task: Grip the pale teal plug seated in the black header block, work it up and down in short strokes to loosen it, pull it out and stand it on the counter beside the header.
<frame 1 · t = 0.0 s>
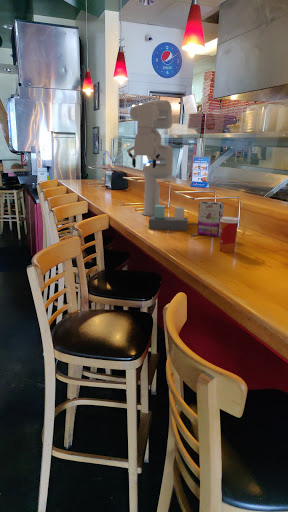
hand: (144, 167, 183), 31 cm above the bar counter, tool pointing down, fingers open, 9 cm apart
teal plug: (159, 227, 197), resting in header block
paper cup: (226, 251, 155), on the bar counter
header block: (168, 227, 197), on the bar counter
candy bar box: (209, 235, 183), on the bar counter
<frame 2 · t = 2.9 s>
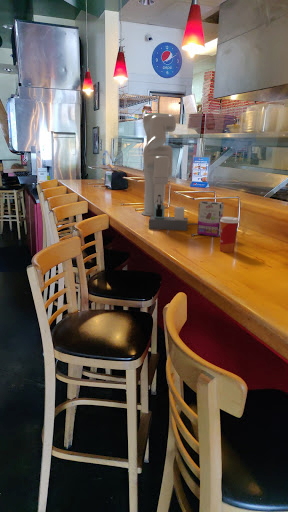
hand: (159, 215, 195), 6 cm above the bar counter, tool pointing down, fingers closed on teal plug, 5 cm apart
teal plug: (159, 227, 197), resting in header block, touching gripper
everything else where it was.
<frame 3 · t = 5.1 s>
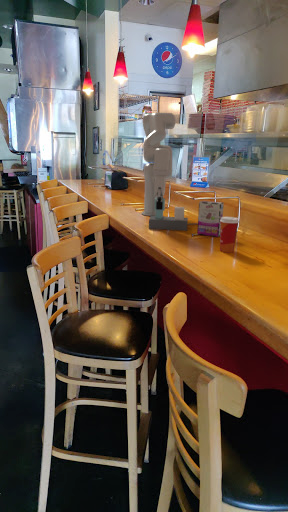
hand: (159, 208, 194), 10 cm above the bar counter, tool pointing down, fingers closed on teal plug, 5 cm apart
teal plug: (159, 220, 196), point 4 cm above the bar counter, touching gripper
everything else where it was.
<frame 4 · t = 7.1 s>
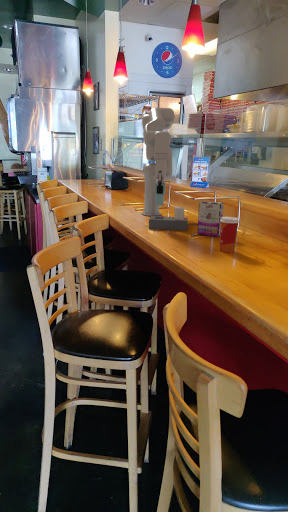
hand: (160, 192, 192), 18 cm above the bar counter, tool pointing down, fingers closed on teal plug, 5 cm apart
teal plug: (159, 205, 194), point 12 cm above the bar counter, touching gripper
everything else where it was.
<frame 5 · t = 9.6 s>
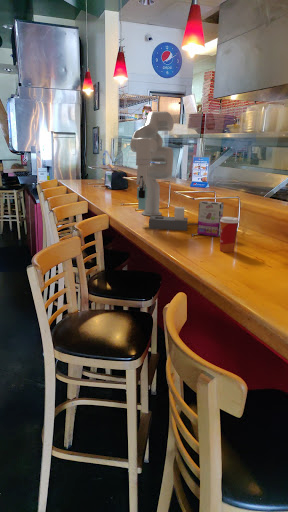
hand: (142, 197, 199), 15 cm above the bar counter, tool pointing down, fingers closed on teal plug, 5 cm apart
teal plug: (141, 208, 200), point 9 cm above the bar counter, touching gripper
everything else where it was.
when the fingers open (8 cm above the bar counter, at t = 11.5 s): teal plug drops 1 cm, on the bar counter.
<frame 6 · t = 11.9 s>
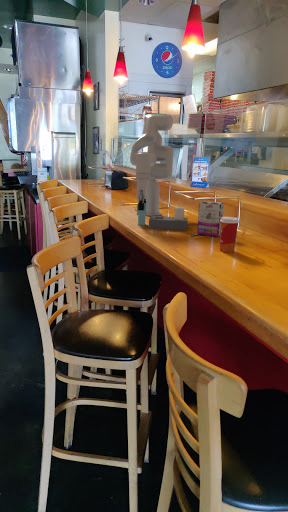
hand: (142, 208, 201), 9 cm above the bar counter, tool pointing down, fingers open, 8 cm apart
teal plug: (141, 224, 203), on the bar counter
everything else where it was.
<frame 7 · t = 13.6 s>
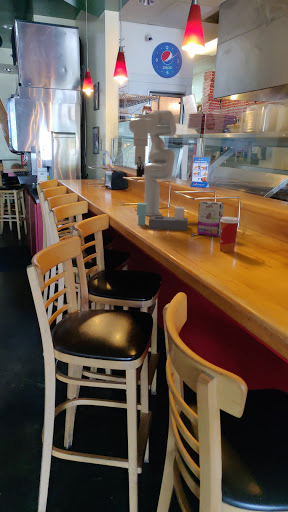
hand: (140, 175, 201), 26 cm above the bar counter, tool pointing down, fingers open, 9 cm apart
nothing on the bar counter moved.
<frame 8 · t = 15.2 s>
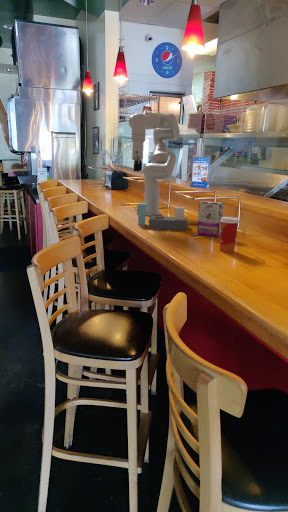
hand: (137, 170, 204), 28 cm above the bar counter, tool pointing down, fingers open, 9 cm apart
nothing on the bar counter moved.
at the end: teal plug inside the target area (0.1 cm from its centre), on the bar counter; teal plug tilted 0°; the gripper is holding nothing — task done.
